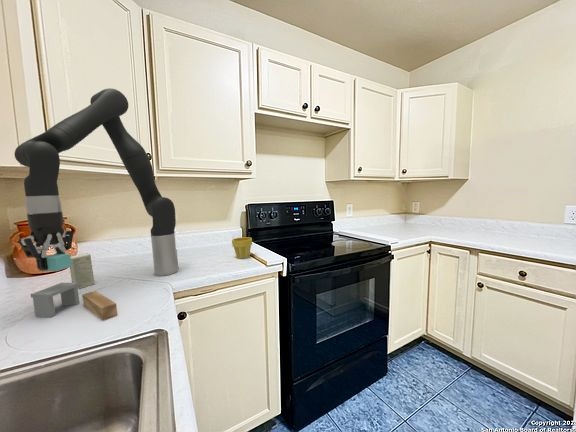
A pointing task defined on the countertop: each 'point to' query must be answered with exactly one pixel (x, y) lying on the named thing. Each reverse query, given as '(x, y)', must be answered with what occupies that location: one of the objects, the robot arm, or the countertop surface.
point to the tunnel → (45, 298)
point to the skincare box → (82, 270)
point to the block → (58, 262)
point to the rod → (100, 305)
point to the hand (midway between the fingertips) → (52, 267)
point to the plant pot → (242, 247)
